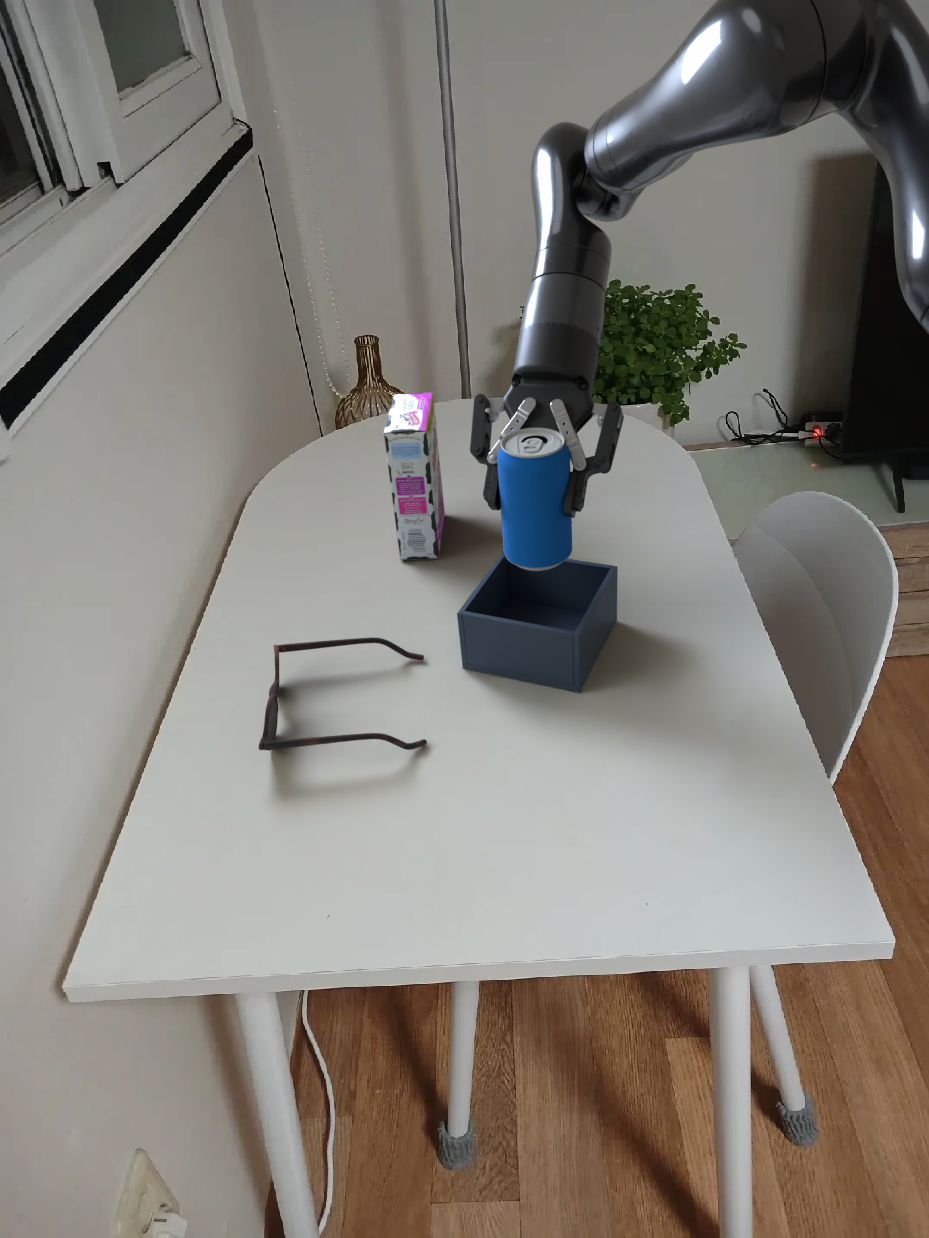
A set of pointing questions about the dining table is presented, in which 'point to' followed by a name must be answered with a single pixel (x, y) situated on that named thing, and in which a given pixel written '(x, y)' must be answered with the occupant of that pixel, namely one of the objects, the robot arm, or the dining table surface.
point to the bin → (539, 622)
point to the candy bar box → (415, 475)
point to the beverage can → (534, 498)
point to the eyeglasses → (271, 729)
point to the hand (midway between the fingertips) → (531, 511)
